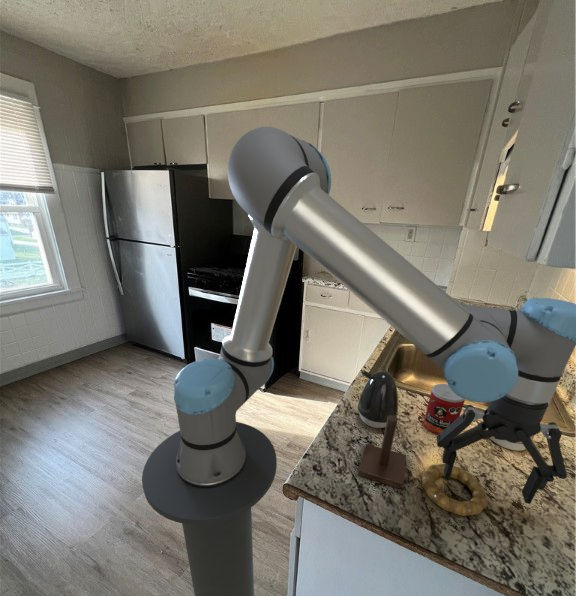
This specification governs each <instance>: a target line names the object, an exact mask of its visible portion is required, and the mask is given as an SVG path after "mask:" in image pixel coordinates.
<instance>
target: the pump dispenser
mask: <svg viewBox="0 0 576 596" xmlns="http://www.w3.org/2000/svg"><path fill="white" fill-rule="evenodd" d="M361 375H363V376H364V377H366V378H367V379H368V381H367V382H366V383H365V385H364V387H363V389H362V391H361V393H360V396H359V400H358V403H357V411H358V414H359V417H360V419H361V421H362V422H363V423H364V424H365V425H367V426H369V427H371V428H374V429H383V428H386V423H387V418H388V416H390V415H392V416H395V417H397V418H398V413H399V392H398V388H397V384H396V380H395V378H394V377H393V374H391V373H390V372H388V371H385V370H378V371H376V372H375V373H374V374H372V373H370V372H368V371H367V370H365V369H364V370H362V372H361Z"/></svg>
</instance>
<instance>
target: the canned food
mask: <svg viewBox="0 0 576 596" xmlns="http://www.w3.org/2000/svg"><path fill="white" fill-rule="evenodd" d="M465 401H466V399H463V398H461V397H459V396H458V395H456V394H455V393H454V392H453V391H452V390H451V388H450V387H449V385H448V383H437V384H434V385H433V387H432V389H431V391H430V395H429V399H428V402H427V407H426V411H425V415H424V419H423V424H424V427H425V428H426V429H427V430H428V431H430V432H431V433H434V434H435V435H438V434H440V433H441V432H442V431H443V430H444V429H446V428H447V427H448V426H449V425H450V424H451V423H453V422H454V421H455V420H456V419H457V418H458V417H460V416H461V415H462V414H461V413H462V411H463V407H464V404H465Z"/></svg>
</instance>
